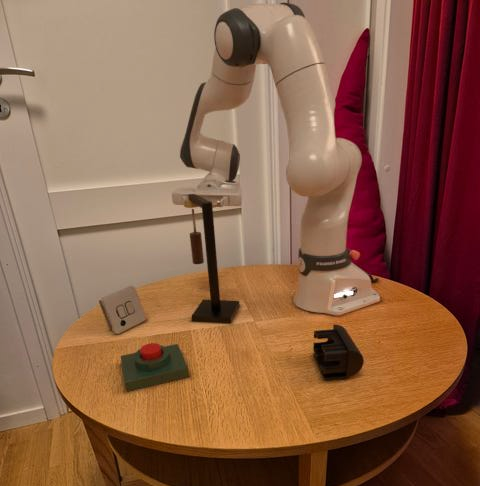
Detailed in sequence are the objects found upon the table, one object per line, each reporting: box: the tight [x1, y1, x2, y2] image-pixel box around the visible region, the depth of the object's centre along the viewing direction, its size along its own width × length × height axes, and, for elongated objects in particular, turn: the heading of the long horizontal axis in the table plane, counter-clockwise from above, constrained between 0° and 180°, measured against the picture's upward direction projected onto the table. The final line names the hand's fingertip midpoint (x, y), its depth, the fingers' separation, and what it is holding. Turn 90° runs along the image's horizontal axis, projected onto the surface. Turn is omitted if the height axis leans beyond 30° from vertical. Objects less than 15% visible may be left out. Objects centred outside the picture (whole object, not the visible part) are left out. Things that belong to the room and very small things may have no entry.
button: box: [139, 342, 162, 360], centre depth 80 cm, size 4×4×2 cm
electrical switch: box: [98, 285, 147, 335], centre depth 99 cm, size 9×5×9 cm, turn 141°
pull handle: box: [189, 208, 205, 265], centre depth 106 cm, size 3×3×14 cm
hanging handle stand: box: [183, 194, 241, 324], centre depth 101 cm, size 14×17×28 cm
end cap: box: [312, 324, 364, 382], centre depth 79 cm, size 10×7×7 cm
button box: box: [120, 343, 190, 392], centre depth 82 cm, size 12×10×4 cm
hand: (202, 203), depth 112 cm, fingers open, 8 cm apart
